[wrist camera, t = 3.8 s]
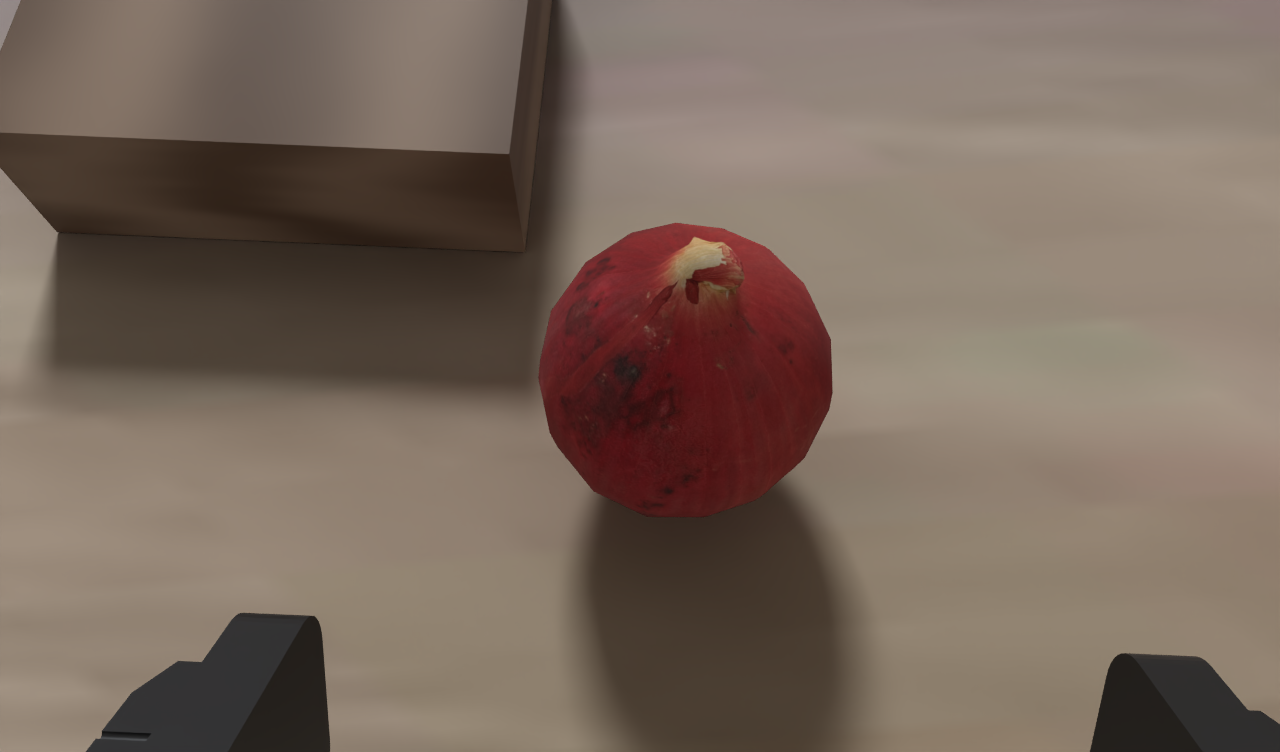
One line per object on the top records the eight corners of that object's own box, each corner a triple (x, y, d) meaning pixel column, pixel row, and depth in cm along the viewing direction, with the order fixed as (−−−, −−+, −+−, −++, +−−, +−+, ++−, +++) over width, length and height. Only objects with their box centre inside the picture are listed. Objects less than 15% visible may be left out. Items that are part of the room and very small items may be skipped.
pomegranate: (661, 615, 23) (676, 493, 15) (502, 426, 24) (450, 238, 17) (851, 456, 24) (946, 278, 17) (690, 290, 26) (713, 67, 19)
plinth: (555, -34, 31) (546, -155, 27) (525, 252, 27) (509, 154, 23) (153, -51, 31) (91, -173, 27) (57, 232, 27) (-32, 131, 23)
